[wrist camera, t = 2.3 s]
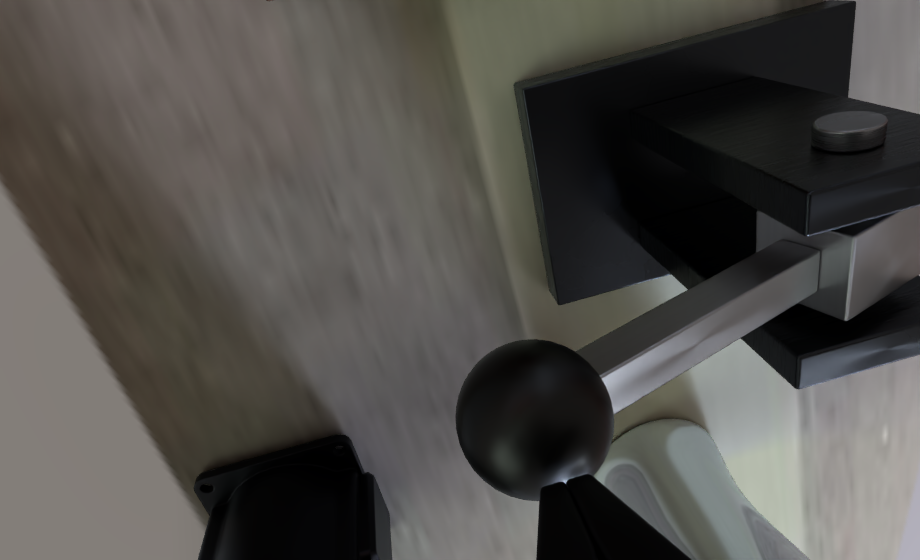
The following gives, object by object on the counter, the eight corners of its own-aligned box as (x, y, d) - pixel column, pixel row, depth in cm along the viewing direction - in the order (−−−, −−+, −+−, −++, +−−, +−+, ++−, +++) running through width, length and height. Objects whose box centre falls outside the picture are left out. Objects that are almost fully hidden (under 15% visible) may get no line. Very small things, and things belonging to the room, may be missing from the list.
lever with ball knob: (448, 466, 13) (525, 566, 10) (413, 356, 11) (492, 441, 9) (814, 255, 17) (932, 292, 14) (820, 154, 15) (953, 175, 13)
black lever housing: (549, 291, 23) (665, 476, 14) (512, 83, 19) (640, 163, 11) (815, 217, 24) (1084, 354, 15) (830, -1, 20) (1200, 12, 11)
